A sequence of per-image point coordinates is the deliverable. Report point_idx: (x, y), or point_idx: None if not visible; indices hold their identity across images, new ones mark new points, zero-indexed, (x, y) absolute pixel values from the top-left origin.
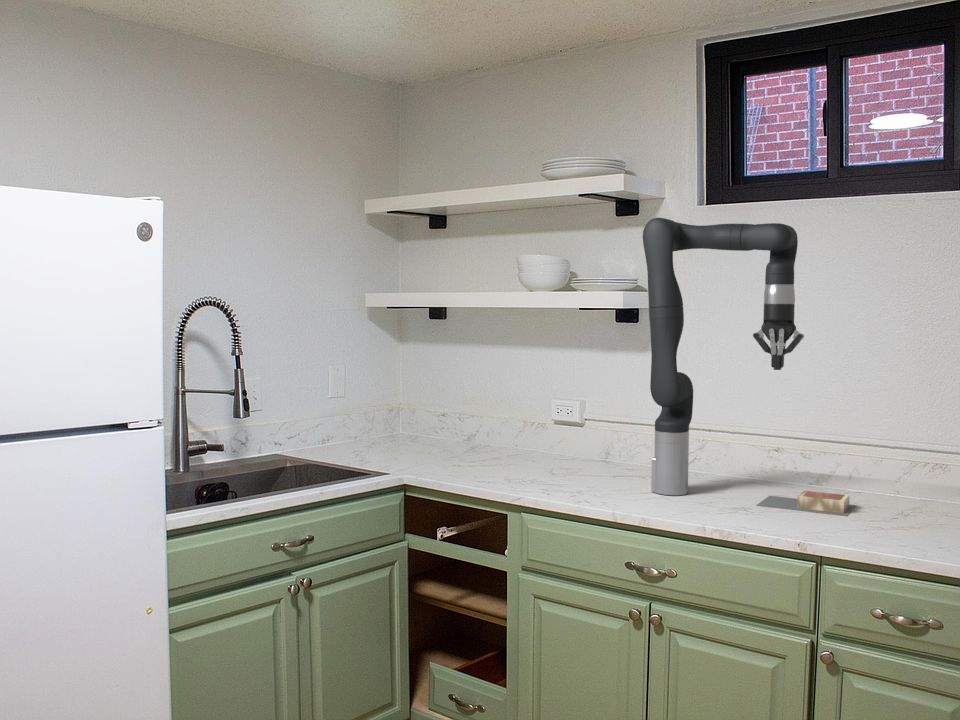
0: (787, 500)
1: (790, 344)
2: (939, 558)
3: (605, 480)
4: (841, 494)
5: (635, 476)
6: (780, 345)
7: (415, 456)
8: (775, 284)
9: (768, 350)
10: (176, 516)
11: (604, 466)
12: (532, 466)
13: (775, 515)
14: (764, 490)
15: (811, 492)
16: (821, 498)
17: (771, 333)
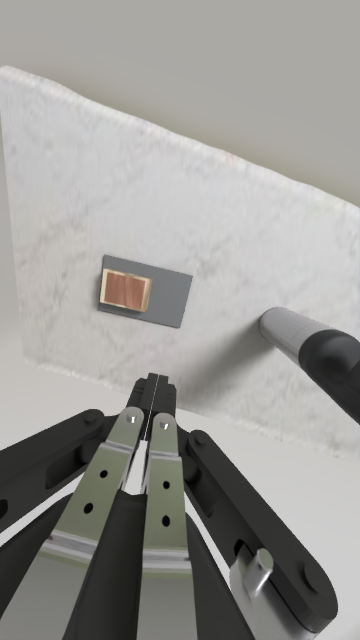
0: (162, 310)
1: (49, 450)
2: (9, 94)
3: None
4: (107, 303)
5: (308, 387)
6: (117, 445)
7: None
8: None
9: (189, 437)
10: None
11: (337, 423)
12: None
13: (173, 248)
14: (184, 360)
15: (137, 303)
16: (126, 275)
17: (170, 579)
